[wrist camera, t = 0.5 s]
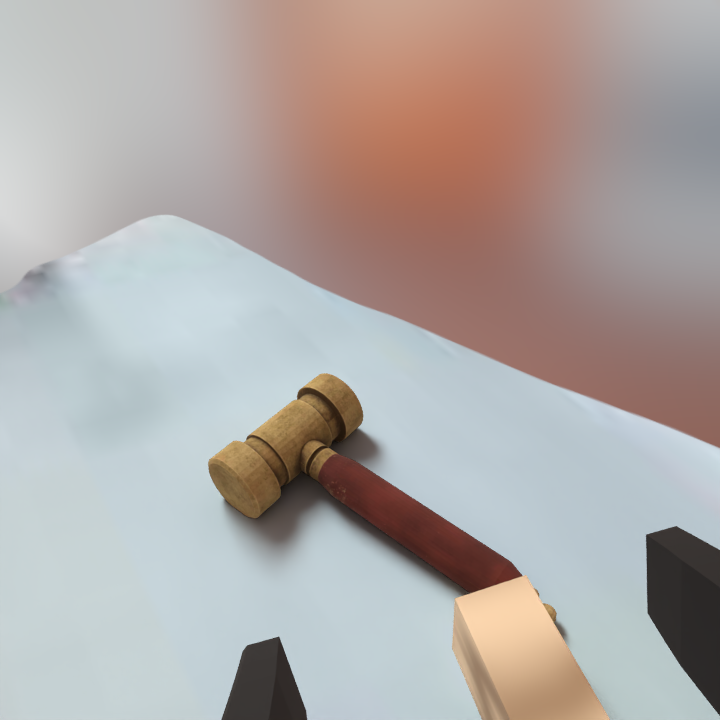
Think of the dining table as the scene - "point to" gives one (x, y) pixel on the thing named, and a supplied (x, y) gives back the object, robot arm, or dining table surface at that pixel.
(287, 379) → the dining table surface
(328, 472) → the gavel
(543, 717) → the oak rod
